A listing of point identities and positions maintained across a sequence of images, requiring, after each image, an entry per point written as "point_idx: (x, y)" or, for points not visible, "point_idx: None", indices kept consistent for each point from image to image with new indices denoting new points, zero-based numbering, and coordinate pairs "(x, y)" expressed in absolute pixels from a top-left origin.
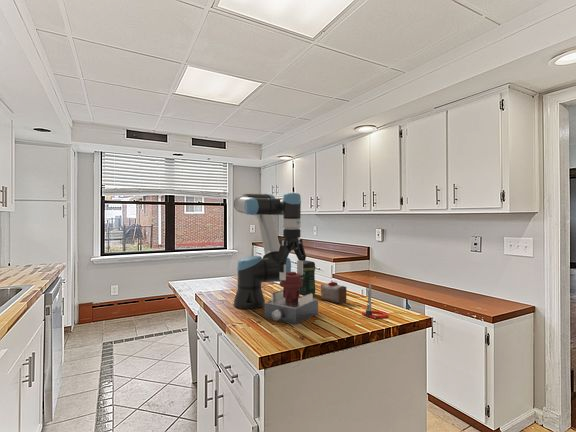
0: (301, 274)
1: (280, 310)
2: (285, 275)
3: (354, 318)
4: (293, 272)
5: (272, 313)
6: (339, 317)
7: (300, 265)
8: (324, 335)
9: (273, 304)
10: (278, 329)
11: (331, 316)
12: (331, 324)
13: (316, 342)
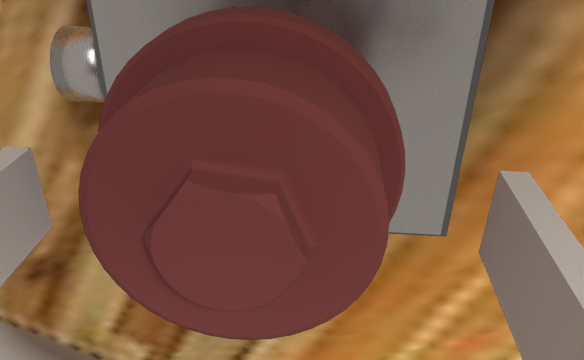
0: (483, 251)
1: (98, 92)
2: (9, 266)
3: (434, 354)
4: (229, 288)
5: (59, 38)
6: (415, 298)
7: (540, 350)
8: (132, 326)
9: (96, 6)
10: (30, 129)
11: (412, 262)
12: None
13: (48, 328)
